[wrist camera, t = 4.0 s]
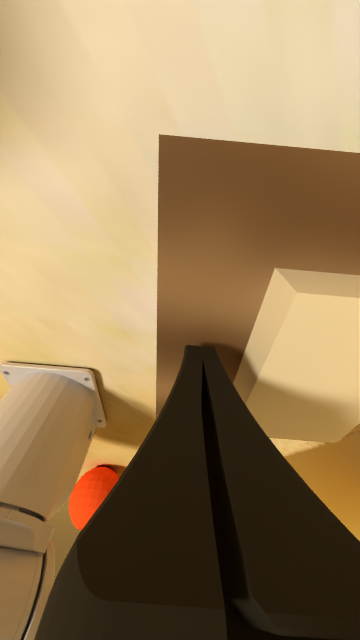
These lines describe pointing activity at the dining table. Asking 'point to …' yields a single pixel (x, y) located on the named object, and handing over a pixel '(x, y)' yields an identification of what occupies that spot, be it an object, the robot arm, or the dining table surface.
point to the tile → (305, 357)
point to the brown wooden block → (242, 237)
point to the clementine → (90, 494)
